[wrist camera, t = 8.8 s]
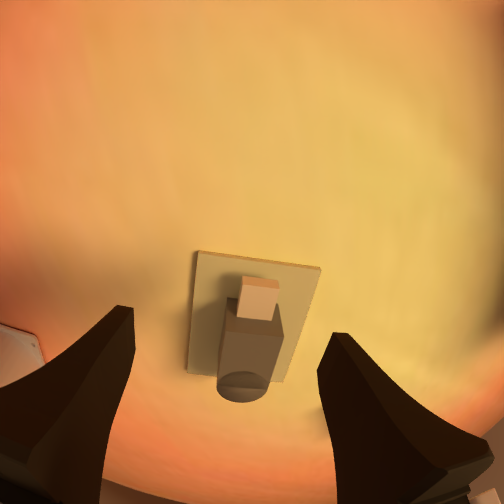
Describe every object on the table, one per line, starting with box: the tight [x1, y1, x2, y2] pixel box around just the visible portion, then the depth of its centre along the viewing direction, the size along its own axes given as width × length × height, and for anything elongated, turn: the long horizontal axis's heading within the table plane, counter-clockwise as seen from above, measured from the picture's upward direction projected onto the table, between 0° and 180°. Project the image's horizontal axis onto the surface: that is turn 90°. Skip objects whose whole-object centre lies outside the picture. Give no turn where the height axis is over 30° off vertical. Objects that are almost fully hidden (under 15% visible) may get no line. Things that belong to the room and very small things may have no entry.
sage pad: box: [187, 251, 321, 382], centre depth 23 cm, size 11×8×1 cm
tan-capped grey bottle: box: [217, 276, 284, 403], centre depth 21 cm, size 9×4×4 cm, turn 170°
